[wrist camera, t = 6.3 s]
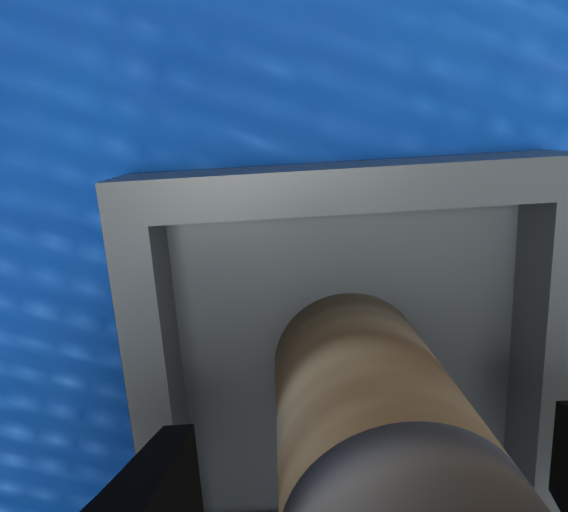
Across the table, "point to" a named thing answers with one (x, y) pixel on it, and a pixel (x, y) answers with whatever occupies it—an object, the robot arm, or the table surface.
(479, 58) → the table surface
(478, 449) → the cylinder
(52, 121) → the table surface
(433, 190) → the tray
